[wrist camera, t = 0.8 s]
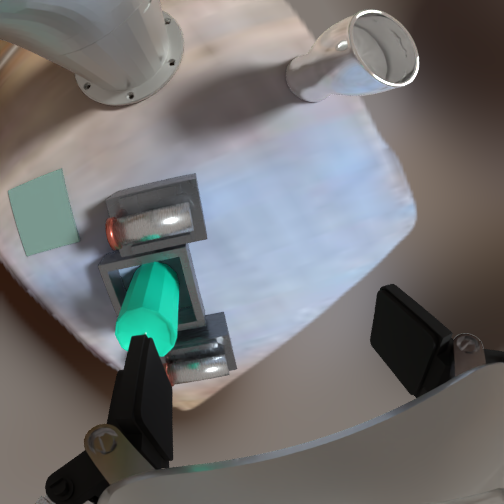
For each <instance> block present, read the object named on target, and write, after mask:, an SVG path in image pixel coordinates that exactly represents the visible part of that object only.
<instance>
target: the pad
mask: <svg viewBox="0 0 504 504" xmlns="http://www.w3.org/2000/svg"><path fill="white" fill-rule="evenodd" d="M8 194H9V198H10V202H11V206H12V210H13V214H14V217H15V221H16V224H17V228H18V231H19V234H20V238H21V241H22V244H23V247H24V250H25V252H26V255H27V256H30V255H33V254H37V253H40V252H43V251H47V250H51V249H54V248H58V247H61V246H65V245H69V244H72V243H76V242H79V241H80V238H79V235H78V231H77V228H76V225H75V221H74V218H73V214H72V210H71V206H70V202H69V198H68V194H67V190H66V186H65V181H64V177H63V172H62V169H59V170H56V171H54V172H51V173H48V174H46V175H43V176H41V177H38V178H36V179H34V180H31V181H29V182H26V183H24V184H22V185H20V186H17V187H15V188H13V189H11V190H9V191H8Z"/></svg>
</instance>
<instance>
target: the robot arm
mask: <svg viewBox="0 0 504 504" xmlns="http://www.w3.org/2000/svg"><path fill="white" fill-rule="evenodd" d="M166 23H170V24H166ZM0 39H1V40H4V41H7V42H10V43H12V44H15V45H17V46H20V47H22V48H24V49H26V50H29V51H31V52H33V53H35V54H37V55H39V56H41V57H43V58H45V59H48V60H50V61H52V62H54V63H56V64H57V65H59V66H61V67H63V68H65V69H67V70H69V71H71V72H73V73H74V74H75V79H76V81H77V84H78V86H79V88H80V89H81V90H82V92H83V93H84V94H85V95H87V96H88V97H89V98H90V99H92V100H94V101H96V102H98V103H101V104H104V105H111V106H125V105H129V104H134V103H137V102H139V101H142V100H145V99H147V98H148V97H150V96H152V95H153V94H155V93H157V92H158V91H159V90H160V89H161V88H163V87H164V86H165V85H166V84H167V83H168V82H169V81H170V79H171V78H172V77H173V75H174V74H175V72H176V71H177V69H178V67H179V65H180V63H181V60H182V56H183V52H184V40H183V34H182V31H181V29H180V26H179V25H178V23H177V22H176V20H175V19H174V18H173V17H172V16H170V15H169V14H168V13H166V12H164V11H162V8H161V3H160V0H0ZM171 63H174V66H170V64H171ZM90 85H91V87H90V88H89V89H88V87H89V86H90ZM131 95H134V97H133V99H130V96H131ZM451 336H452V332H451V331H450V330H449V329H447V328H446V327H445V326H444V325H443V324H442V323H440V322H439V321H438V320H437V319H436V318H435V317H434V316H432V315H431V314H430V313H429V312H428V311H426V310H425V309H424V308H423V307H422V306H420V305H419V304H418V303H417V302H416V301H414V300H413V299H412V298H411V297H410V296H408V295H407V294H406V293H405V292H403V291H402V290H401V289H400V288H398V287H397V286H396V285H394V284H390V285H386V286H383V287H381V288H380V291H378V293H377V299H376V306H375V314H374V319H373V326H372V332H371V338H370V342H371V345H372V347H373V348H374V349H375V351H376V352H377V353H378V354H379V355H380V357H381V358H382V359H383V361H384V362H385V363H386V364H387V366H388V367H389V368H390V369H391V370H392V372H393V373H394V374H395V376H396V377H397V378H398V379H399V381H400V382H401V383H402V384H403V386H404V387H405V388H406V389H407V391H408V392H409V393H410V394H411V395H414V396H415V397H416V399H414V400H413V401H410V402H408V403H406V404H404V405H402V406H400V407H398V408H396V409H394V410H392V411H390V412H387V413H385V414H383V415H381V416H378V417H376V418H374V419H371V420H369V421H367V422H364V423H362V424H359V425H356V426H354V427H351V428H349V429H346V430H343V431H341V432H338V433H335V434H332V435H329V436H326V437H323V438H320V439H316V440H313V441H310V442H307V443H303V444H300V445H296V446H292V447H289V448H285V449H281V450H277V451H272V452H268V453H264V454H260V455H254V456H249V457H244V458H239V459H232V460H226V461H220V462H214V463H207V464H198V465H188V466H182V467H173V468H169V461H172V460H173V434H172V433H173V432H172V386H171V383H170V381H169V378H168V376H167V374H166V371H165V369H164V366H163V364H162V361H161V359H160V356H159V354H158V351H157V349H156V346H155V344H154V341H153V339H152V338H151V337H150V338H148V337H147V335H146V334H144V335H136V336H132V337H131V340H130V344H129V348H128V353H127V357H126V361H125V366H124V370H119V371H118V373H117V376H116V381H115V386H114V390H113V395H112V399H111V404H110V409H109V415H108V420H107V424H101V425H97V426H95V427H93V428H92V429H91V430H89V431H88V433H87V434H86V436H85V439H84V447H85V449H86V450H85V451H84V452H82V453H81V454H79V455H78V456H77V457H75V458H74V459H72V460H71V461H70V462H68V463H67V464H65V465H64V466H63V467H61V468H60V469H58V470H57V471H56V472H54V473H53V474H51V475H50V476H49V477H48V479H47V481H46V486H45V489H46V496H45V497H42V496H41V497H40V498H39V499H38V501H37V502H36V503H35V504H504V352H502V351H495V350H488V349H483V345H482V342H481V341H480V340H479V339H478V338H477V337H476V336H473V335H471V334H467V333H465V334H463V333H462V334H459V335H457V336H456V337H455V338H454V340H453V339H452V338H451ZM161 468H165V469H161Z"/></svg>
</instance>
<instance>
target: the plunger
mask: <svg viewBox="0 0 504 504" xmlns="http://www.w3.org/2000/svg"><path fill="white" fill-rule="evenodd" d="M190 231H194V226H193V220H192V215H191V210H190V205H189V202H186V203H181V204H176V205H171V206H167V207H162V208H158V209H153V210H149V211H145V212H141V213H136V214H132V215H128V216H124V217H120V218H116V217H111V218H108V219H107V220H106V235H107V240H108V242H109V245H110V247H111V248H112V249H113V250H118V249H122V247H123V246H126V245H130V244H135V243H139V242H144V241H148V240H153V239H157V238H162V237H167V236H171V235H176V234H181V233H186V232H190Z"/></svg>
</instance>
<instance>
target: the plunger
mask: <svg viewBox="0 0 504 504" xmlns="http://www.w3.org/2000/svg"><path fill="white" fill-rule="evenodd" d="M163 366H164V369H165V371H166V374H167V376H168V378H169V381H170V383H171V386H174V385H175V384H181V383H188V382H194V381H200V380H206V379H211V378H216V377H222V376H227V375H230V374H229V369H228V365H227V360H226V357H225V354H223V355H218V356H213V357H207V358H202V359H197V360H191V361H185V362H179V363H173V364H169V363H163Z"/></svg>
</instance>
